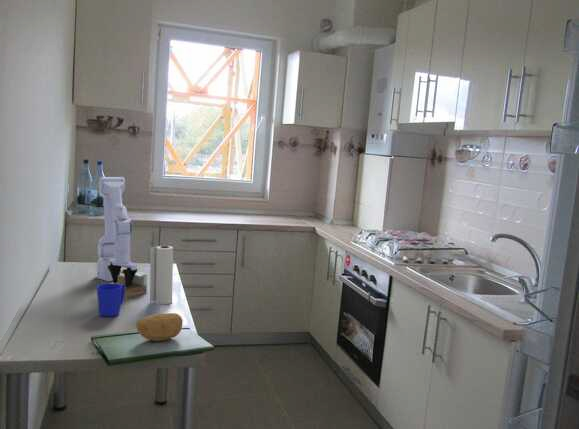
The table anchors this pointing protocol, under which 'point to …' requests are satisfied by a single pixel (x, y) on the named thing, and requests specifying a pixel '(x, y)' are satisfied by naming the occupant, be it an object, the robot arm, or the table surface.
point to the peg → (121, 279)
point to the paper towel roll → (161, 274)
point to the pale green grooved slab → (139, 278)
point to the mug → (110, 299)
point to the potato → (160, 326)
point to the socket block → (134, 290)
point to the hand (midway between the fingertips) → (122, 284)
